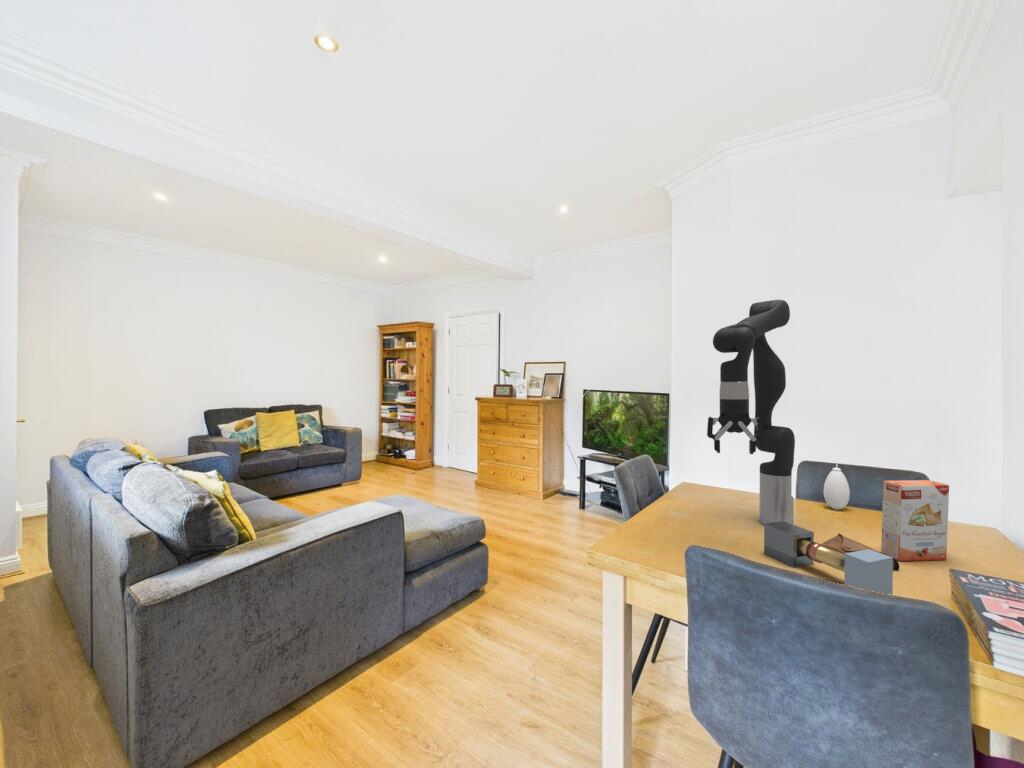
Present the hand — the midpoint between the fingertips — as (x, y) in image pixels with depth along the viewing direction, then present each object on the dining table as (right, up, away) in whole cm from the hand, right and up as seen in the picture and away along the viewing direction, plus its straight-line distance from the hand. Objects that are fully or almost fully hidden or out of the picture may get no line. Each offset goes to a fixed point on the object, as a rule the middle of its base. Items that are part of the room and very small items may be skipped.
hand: (734, 453), depth 123 cm
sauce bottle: (+58, -27, +37) cm, 74 cm away
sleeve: (+11, -28, -6) cm, 31 cm away
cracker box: (+47, -28, -5) cm, 55 cm away
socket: (+18, -28, -25) cm, 42 cm away
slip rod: (+13, -25, -11) cm, 31 cm away
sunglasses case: (+31, -29, -5) cm, 42 cm away
